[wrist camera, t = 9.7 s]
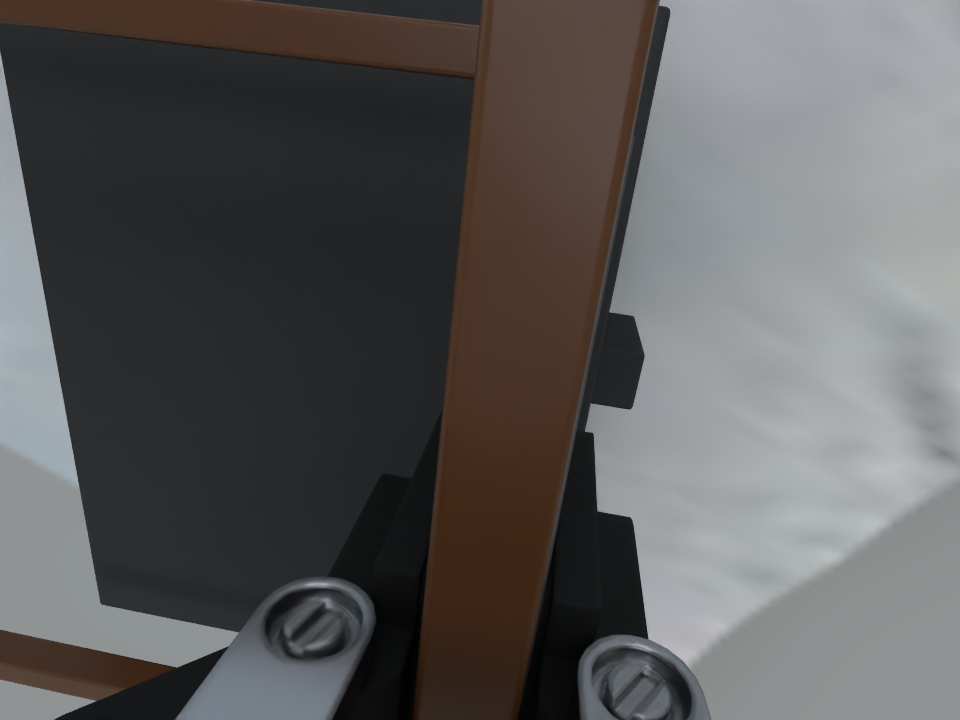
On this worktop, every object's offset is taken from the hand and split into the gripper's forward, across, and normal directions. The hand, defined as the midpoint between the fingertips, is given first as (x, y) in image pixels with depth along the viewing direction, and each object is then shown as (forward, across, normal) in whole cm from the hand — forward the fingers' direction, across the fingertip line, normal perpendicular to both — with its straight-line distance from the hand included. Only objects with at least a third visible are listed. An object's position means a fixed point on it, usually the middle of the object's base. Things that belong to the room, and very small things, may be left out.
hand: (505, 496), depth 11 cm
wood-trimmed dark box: (+15, +5, 0) cm, 15 cm away
